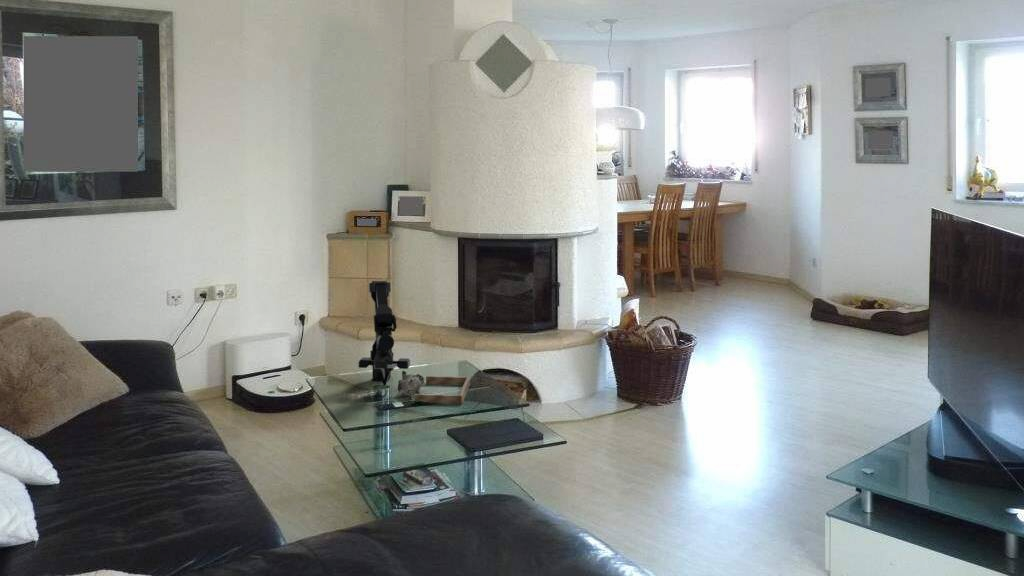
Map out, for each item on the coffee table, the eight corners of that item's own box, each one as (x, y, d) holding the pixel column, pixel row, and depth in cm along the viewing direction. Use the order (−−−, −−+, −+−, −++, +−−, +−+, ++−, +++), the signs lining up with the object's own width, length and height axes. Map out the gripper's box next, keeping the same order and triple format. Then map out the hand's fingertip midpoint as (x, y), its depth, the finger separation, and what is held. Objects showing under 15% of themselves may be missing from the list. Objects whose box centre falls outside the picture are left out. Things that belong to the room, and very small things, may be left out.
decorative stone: (419, 398, 340) (413, 372, 339) (396, 403, 342) (389, 376, 341) (430, 389, 356) (424, 364, 355) (407, 393, 357) (401, 368, 357)
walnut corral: (414, 402, 337) (414, 394, 336) (426, 383, 365) (426, 375, 364) (462, 404, 336) (462, 396, 335) (470, 384, 364) (470, 377, 363)
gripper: (354, 348, 341) (355, 390, 344) (405, 350, 340) (405, 391, 343) (361, 342, 352) (362, 382, 355) (410, 343, 351) (410, 383, 354)
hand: (384, 385), depth 351 cm, fingers closed
